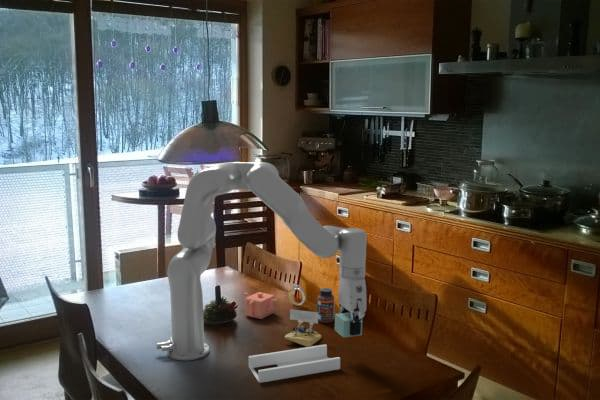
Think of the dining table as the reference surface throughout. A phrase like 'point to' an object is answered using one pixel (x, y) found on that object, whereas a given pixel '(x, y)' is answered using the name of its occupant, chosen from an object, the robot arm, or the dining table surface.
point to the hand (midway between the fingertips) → (350, 329)
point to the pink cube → (259, 305)
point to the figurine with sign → (303, 328)
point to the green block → (344, 324)
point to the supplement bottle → (325, 306)
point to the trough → (293, 363)
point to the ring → (301, 292)
